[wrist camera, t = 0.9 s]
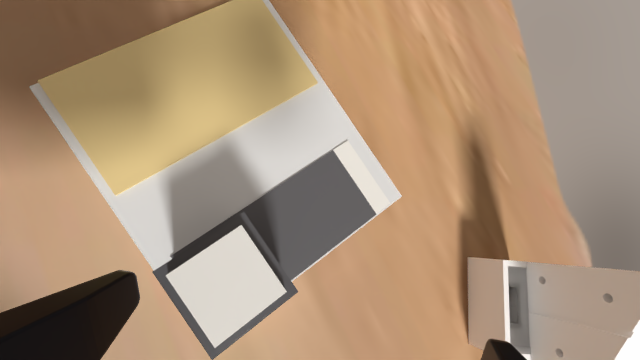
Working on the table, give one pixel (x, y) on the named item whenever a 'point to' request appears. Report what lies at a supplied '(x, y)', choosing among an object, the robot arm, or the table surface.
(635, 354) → the white angled block
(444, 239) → the table surface
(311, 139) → the board
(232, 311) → the block
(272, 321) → the table surface
